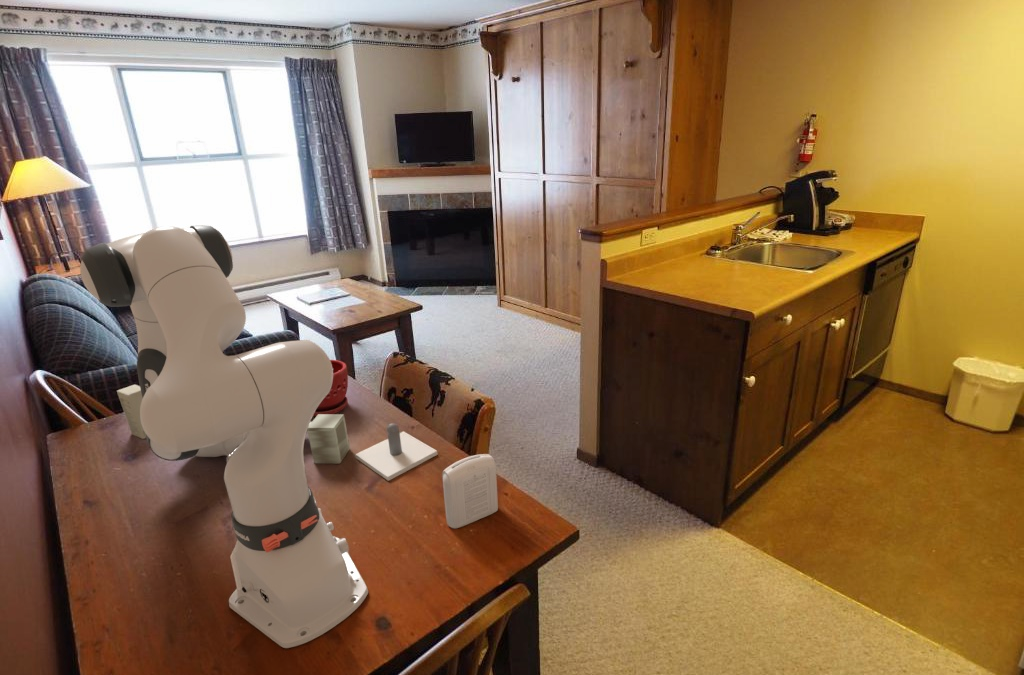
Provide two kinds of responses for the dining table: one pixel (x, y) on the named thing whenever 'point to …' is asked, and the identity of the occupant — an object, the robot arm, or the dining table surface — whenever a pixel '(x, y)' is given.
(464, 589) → the dining table surface
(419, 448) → the post stand
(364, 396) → the dining table surface
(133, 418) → the skincare box
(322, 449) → the sage recessed panel box
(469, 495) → the photo printer
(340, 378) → the plant pot
